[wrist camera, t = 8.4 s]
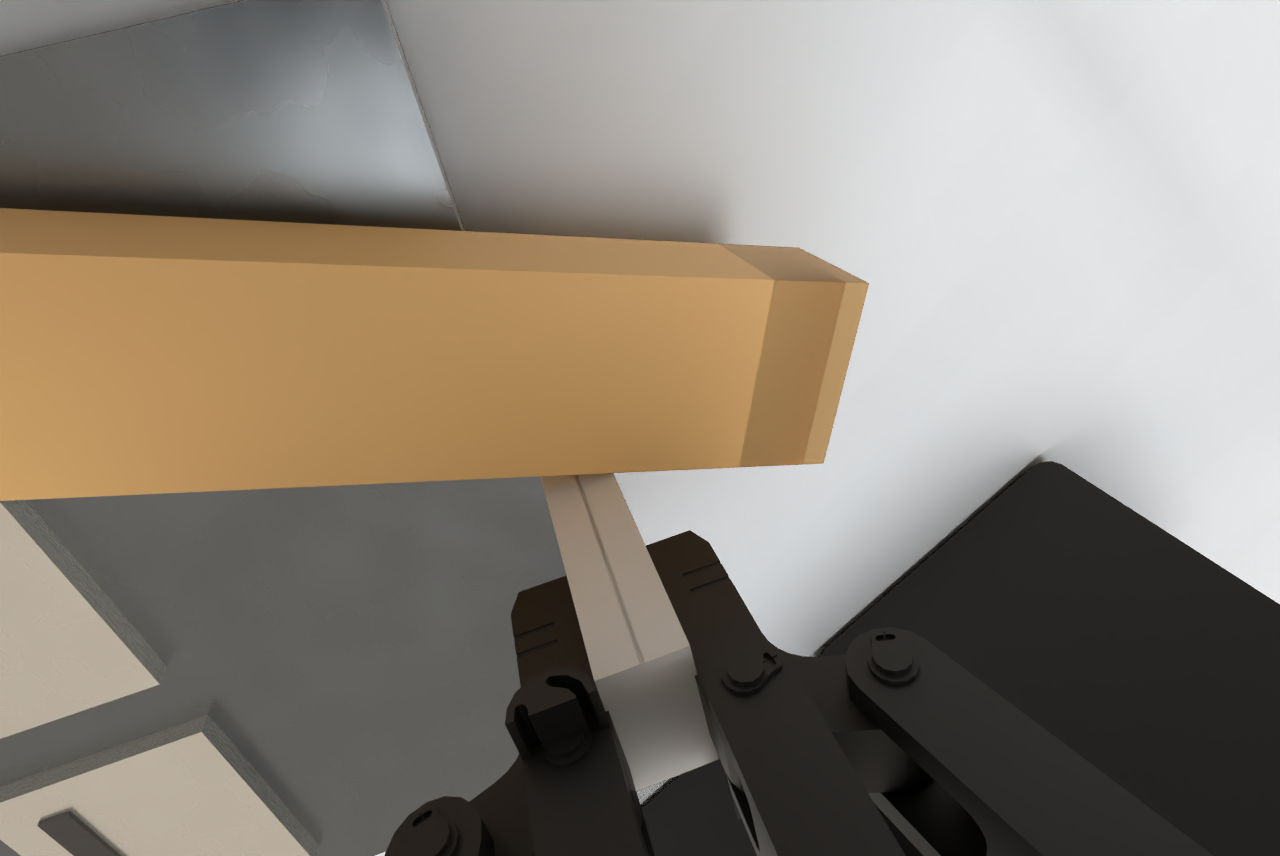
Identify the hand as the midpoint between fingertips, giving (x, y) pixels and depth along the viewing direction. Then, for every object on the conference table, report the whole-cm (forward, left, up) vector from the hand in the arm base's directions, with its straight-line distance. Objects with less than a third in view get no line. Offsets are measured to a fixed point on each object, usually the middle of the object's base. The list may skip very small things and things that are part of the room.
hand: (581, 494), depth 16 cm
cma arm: (-5, -4, -1) cm, 7 cm away
